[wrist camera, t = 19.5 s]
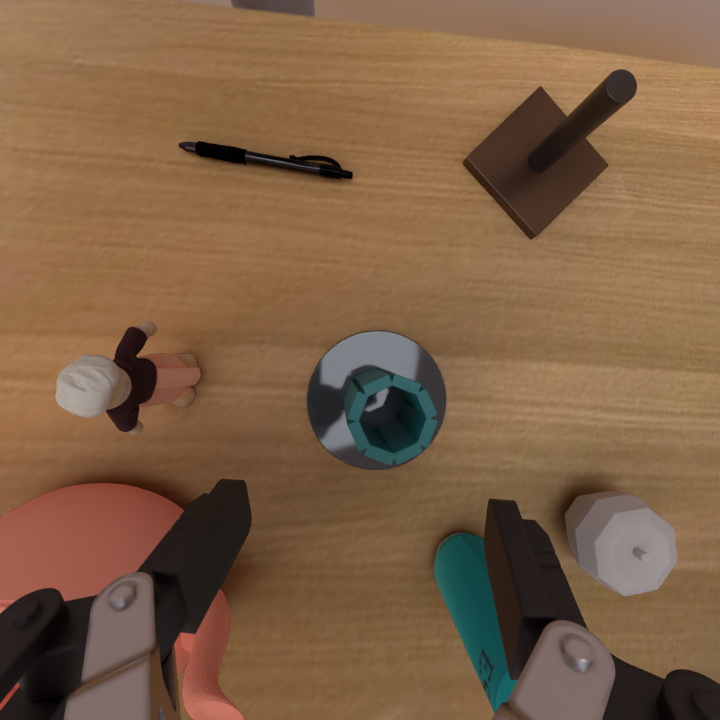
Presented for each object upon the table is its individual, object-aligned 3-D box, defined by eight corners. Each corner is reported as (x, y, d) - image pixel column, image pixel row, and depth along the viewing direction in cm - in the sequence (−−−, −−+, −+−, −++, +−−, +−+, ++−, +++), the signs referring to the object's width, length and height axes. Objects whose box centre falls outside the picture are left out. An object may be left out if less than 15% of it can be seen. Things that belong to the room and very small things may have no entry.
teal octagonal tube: (334, 385, 31) (334, 398, 23) (393, 358, 31) (415, 361, 23) (361, 445, 31) (371, 477, 23) (420, 417, 32) (449, 440, 24)
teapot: (283, 477, 31) (248, 571, 18) (274, 668, 32) (233, 898, 18) (-31, 468, 29) (-332, 567, 16) (-36, 672, 30) (-335, 934, 16)
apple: (640, 531, 34) (713, 574, 28) (570, 577, 34) (627, 631, 27) (600, 458, 34) (665, 485, 27) (528, 504, 33) (576, 542, 27)
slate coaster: (284, 365, 31) (283, 366, 31) (411, 308, 32) (412, 308, 31) (342, 491, 32) (342, 493, 31) (465, 432, 33) (467, 434, 32)
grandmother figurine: (207, 417, 31) (119, 464, 18) (159, 420, 30) (37, 470, 18) (201, 325, 31) (109, 308, 18) (154, 327, 30) (25, 312, 18)
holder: (462, 163, 32) (521, 78, 22) (534, 93, 32) (625, -22, 22) (530, 239, 32) (618, 191, 23) (600, 170, 33) (718, 92, 23)
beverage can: (435, 595, 33) (521, 801, 18) (422, 533, 32) (500, 689, 18) (496, 579, 33) (631, 768, 18) (484, 518, 33) (611, 659, 18)
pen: (354, 165, 31) (354, 158, 30) (351, 185, 31) (352, 179, 30) (184, 135, 30) (178, 127, 29) (181, 156, 30) (175, 148, 29)
